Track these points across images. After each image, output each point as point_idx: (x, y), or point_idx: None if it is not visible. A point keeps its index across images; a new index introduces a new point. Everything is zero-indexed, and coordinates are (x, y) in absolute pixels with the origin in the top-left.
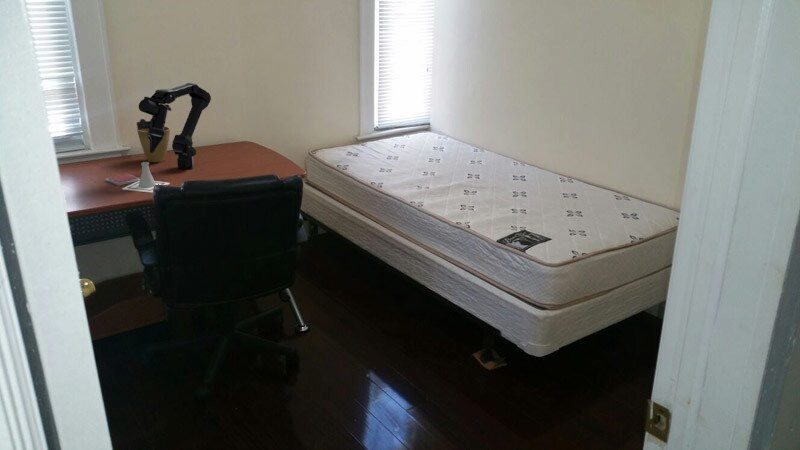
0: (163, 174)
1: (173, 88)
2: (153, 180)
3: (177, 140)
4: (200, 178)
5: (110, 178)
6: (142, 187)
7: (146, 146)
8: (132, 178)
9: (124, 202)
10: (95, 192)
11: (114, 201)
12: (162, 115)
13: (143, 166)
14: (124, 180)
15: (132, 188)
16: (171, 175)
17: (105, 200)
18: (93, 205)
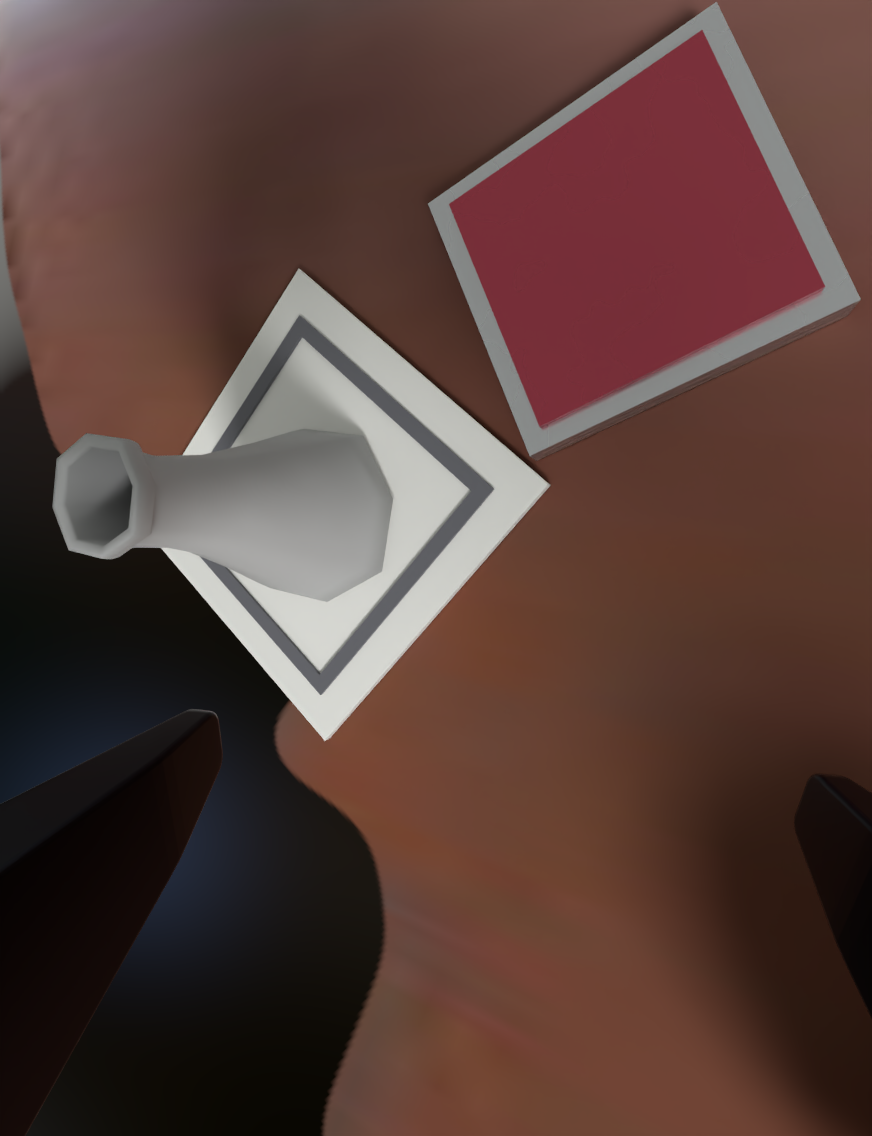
0: (744, 796)
1: None
2: (250, 577)
3: None
4: (403, 1074)
5: (637, 73)
6: None
7: None
8: (526, 368)
9: (28, 309)
10: (300, 20)
11: (61, 234)
12: None
13: (106, 469)
14: (478, 272)
15: (265, 368)
16: (647, 867)
17: (94, 160)
18: (30, 90)
